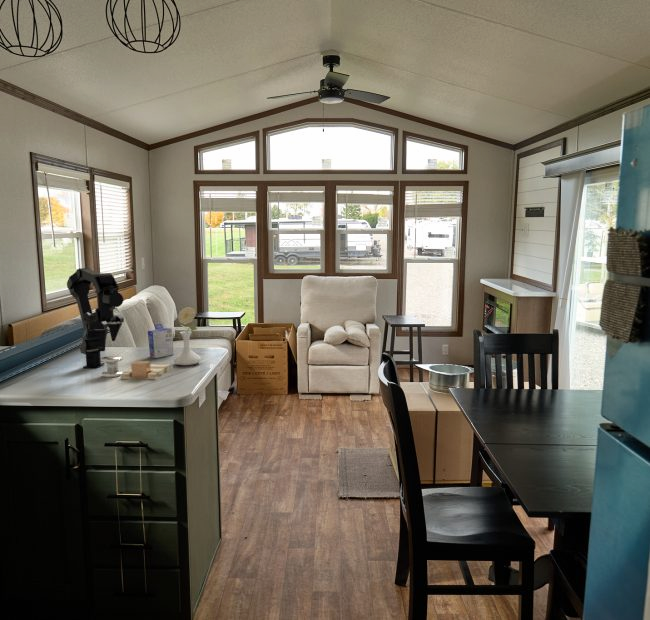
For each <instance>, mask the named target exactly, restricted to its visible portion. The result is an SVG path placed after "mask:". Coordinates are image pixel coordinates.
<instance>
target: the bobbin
mask: <svg viewBox="0 0 650 620" xmlns="http://www.w3.org/2000/svg"><path fill="white" fill-rule="evenodd" d="M121 361H123V356H122V355H107V356H103V357H101V363H104V364H105V363H106V370H105V371H103V372H102V373H101V375H102V377H103V378H106V379H107V378H109V379H110V378H117V377H118V378H119V377H121V373H123V372H124V370H121V369H119V364H118V362H121Z"/></svg>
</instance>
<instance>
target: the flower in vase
mask: <svg viewBox="0 0 650 620" xmlns="http://www.w3.org/2000/svg"><path fill="white" fill-rule="evenodd" d="M177 315H178V316H177V317H178V322H179V323H180V324H179V325H180V326H181V327H183V328H184V329H186V330H184V331H180V332H179V333H180V335H181V337H182V340H183V350H182V351H181V352H179V354H177V356H176V357H174V359H173V362H174V364H175V365H179V366H191V365H196V364H198V363H200V362H202V361H201V360H202V358H201V357H200V355H199V354H197V353H196V352H194V350H192V349H191V348H190V338H191V335H192V333H193V332H192V331H196V330H198V328H197V326H196V324H191V323H192V322H193V320H195V317H196V309H194V308H192V307H190V306H187V307H184V308H182V309H181V310H180V311H179V313H178V314H177ZM187 324H189V326H188V328H187V326H184V325H187ZM189 330H190V331H189Z"/></svg>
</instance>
